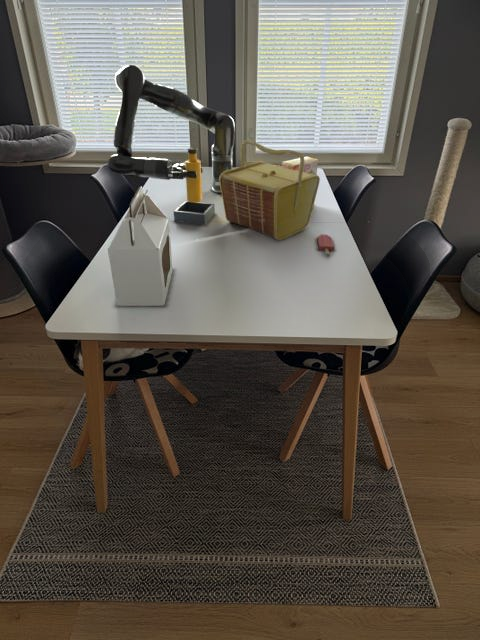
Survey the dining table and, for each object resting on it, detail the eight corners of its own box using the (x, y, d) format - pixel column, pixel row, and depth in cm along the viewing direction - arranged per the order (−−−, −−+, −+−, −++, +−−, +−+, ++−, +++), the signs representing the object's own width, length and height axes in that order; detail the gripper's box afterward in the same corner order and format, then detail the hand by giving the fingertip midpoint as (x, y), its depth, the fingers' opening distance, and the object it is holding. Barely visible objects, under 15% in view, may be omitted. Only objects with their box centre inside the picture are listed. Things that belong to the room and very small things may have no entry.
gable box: (164, 306, 126) (154, 210, 110) (116, 306, 125) (100, 209, 110) (172, 269, 144) (165, 182, 128) (131, 269, 144) (119, 182, 128)
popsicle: (320, 251, 153) (316, 234, 166) (319, 255, 154) (316, 238, 166) (335, 252, 153) (331, 234, 165) (335, 256, 154) (330, 238, 166)
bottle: (197, 196, 181) (195, 146, 170) (204, 201, 177) (202, 149, 166) (184, 199, 179) (181, 147, 168) (191, 203, 174) (188, 151, 163)
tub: (185, 211, 188) (185, 200, 185) (214, 214, 185) (214, 203, 182) (174, 222, 178) (173, 211, 175) (204, 225, 175) (204, 214, 172)
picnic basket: (317, 227, 175) (326, 146, 158) (275, 247, 159) (280, 160, 143) (260, 208, 191) (263, 134, 175) (217, 225, 176) (215, 144, 159)
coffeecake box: (290, 213, 187) (294, 165, 177) (278, 208, 192) (281, 161, 181) (314, 205, 196) (319, 159, 185) (301, 201, 200) (306, 155, 189)
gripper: (149, 163, 167) (192, 167, 163) (165, 154, 178) (205, 157, 175) (151, 183, 171) (193, 188, 167) (166, 173, 182) (206, 177, 179)
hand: (199, 172), depth 171 cm, fingers closed on bottle, 6 cm apart
